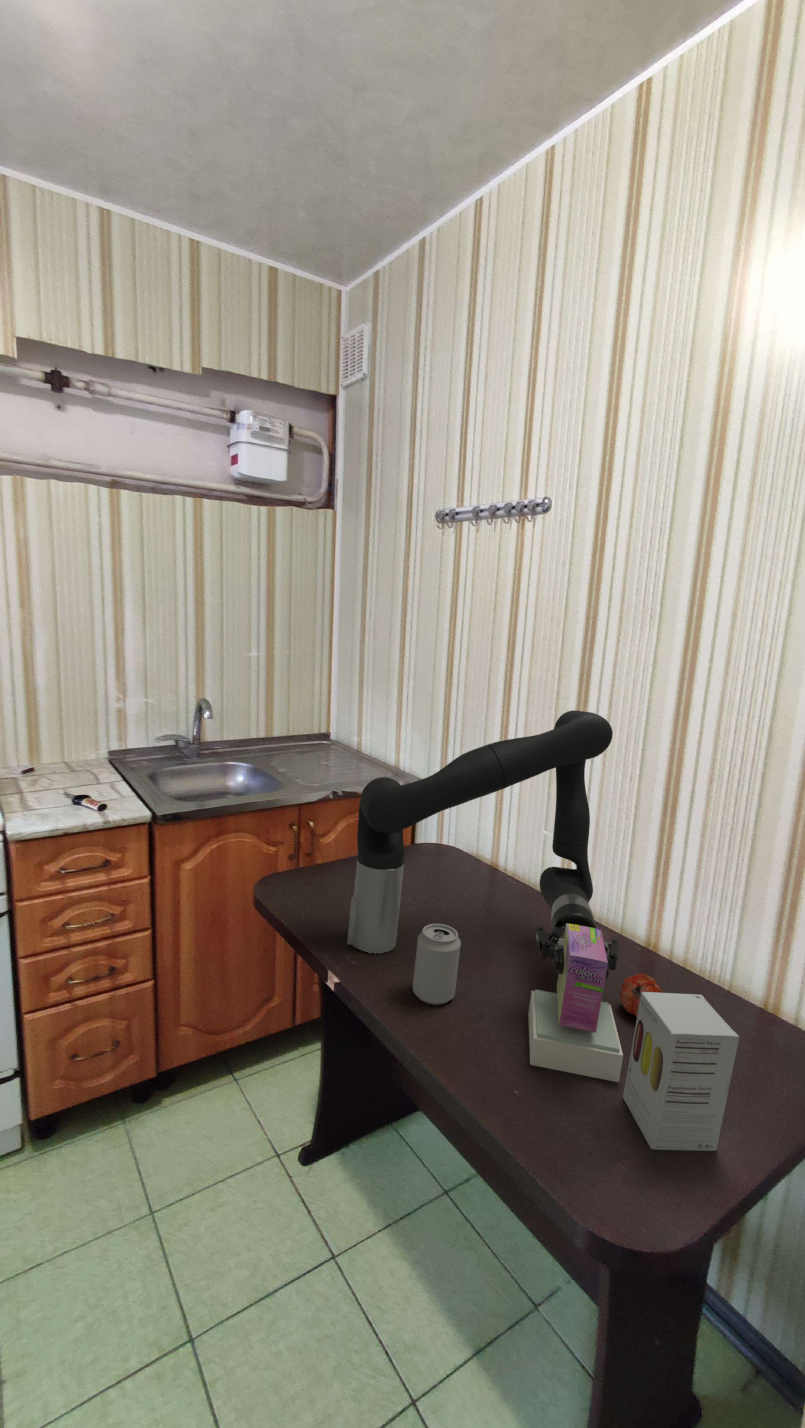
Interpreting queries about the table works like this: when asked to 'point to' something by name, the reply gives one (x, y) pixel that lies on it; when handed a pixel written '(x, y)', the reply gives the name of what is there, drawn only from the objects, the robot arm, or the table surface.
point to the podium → (573, 1041)
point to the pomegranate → (637, 991)
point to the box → (581, 978)
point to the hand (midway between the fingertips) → (582, 971)
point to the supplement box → (679, 1071)
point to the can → (436, 964)
